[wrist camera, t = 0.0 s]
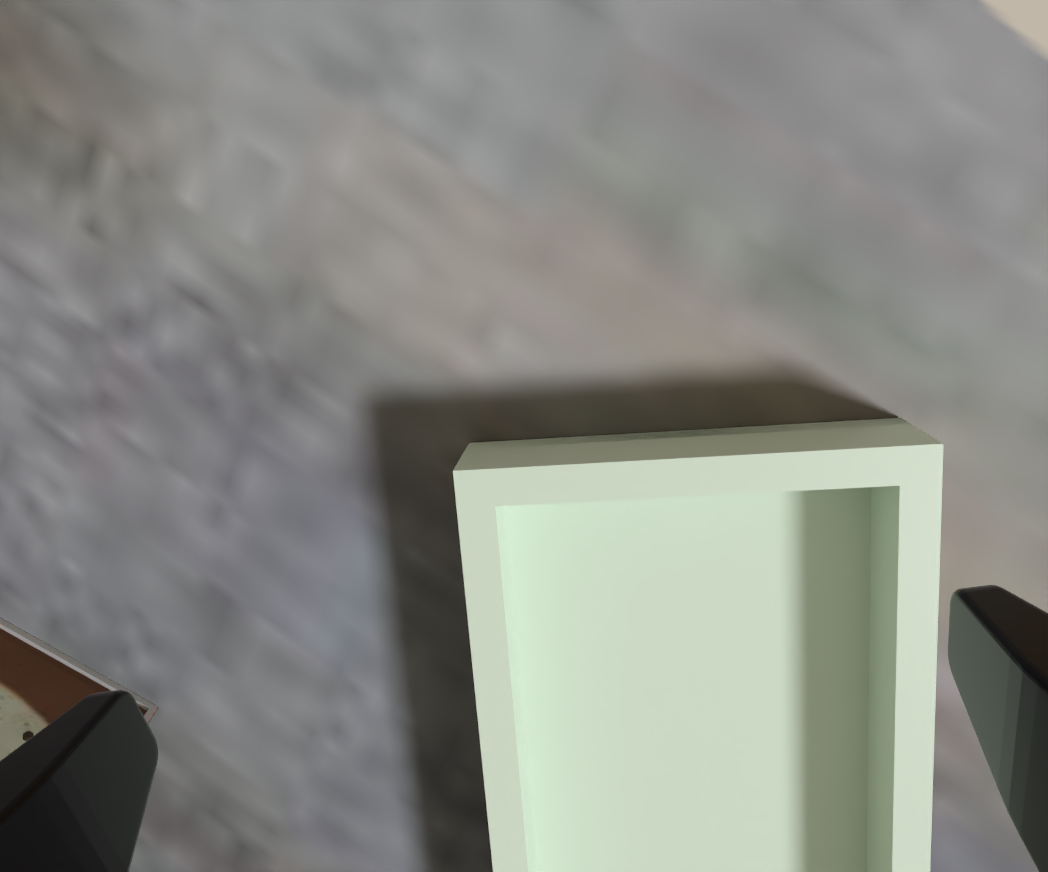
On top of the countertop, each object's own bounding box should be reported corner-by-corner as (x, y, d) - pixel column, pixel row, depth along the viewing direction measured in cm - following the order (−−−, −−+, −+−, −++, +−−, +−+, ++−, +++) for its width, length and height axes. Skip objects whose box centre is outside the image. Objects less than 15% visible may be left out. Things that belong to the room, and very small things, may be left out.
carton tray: (889, 964, 28) (924, 1050, 25) (518, 964, 29) (510, 1046, 26) (900, 417, 24) (943, 443, 21) (469, 442, 25) (452, 470, 22)
